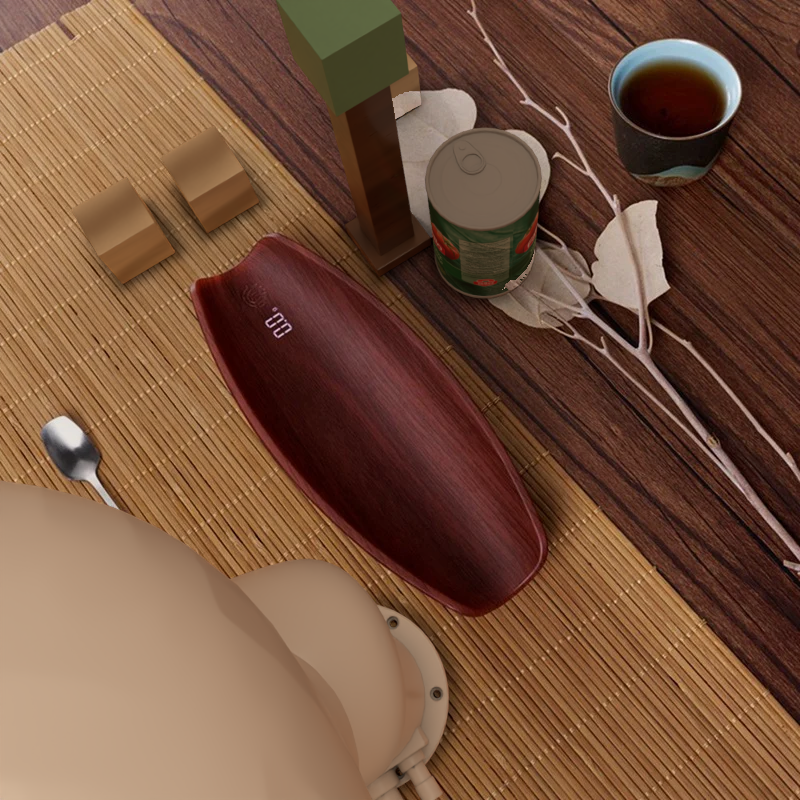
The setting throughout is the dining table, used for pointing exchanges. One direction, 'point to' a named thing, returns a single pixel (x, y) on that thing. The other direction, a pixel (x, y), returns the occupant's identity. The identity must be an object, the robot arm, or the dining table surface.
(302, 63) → the green block
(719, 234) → the dining table surface
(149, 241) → the line block
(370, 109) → the stand
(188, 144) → the line block
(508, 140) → the canned tomato
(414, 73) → the line block
